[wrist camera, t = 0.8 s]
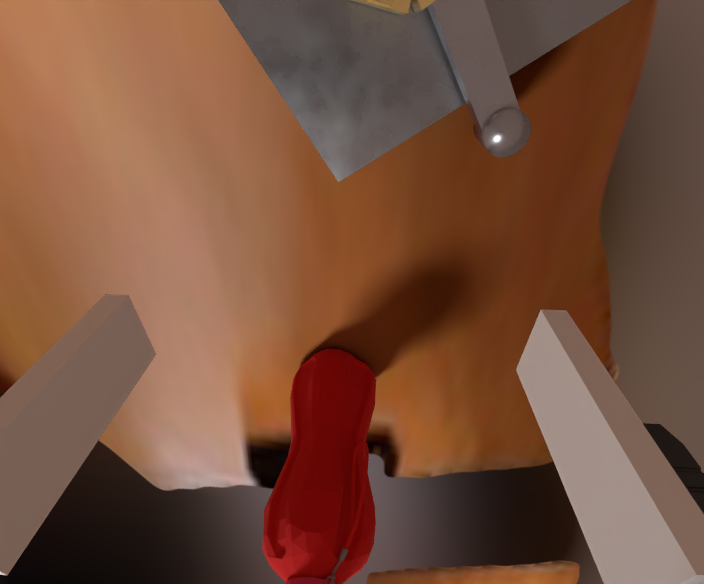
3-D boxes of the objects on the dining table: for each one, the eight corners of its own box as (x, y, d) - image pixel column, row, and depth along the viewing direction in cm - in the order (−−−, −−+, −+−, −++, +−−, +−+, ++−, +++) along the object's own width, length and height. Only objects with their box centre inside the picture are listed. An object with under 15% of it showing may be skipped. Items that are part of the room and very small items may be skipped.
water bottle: (395, 364, 45) (413, 635, 25) (340, 402, 50) (318, 650, 30) (339, 327, 42) (308, 606, 22) (286, 372, 47) (222, 629, 27)
